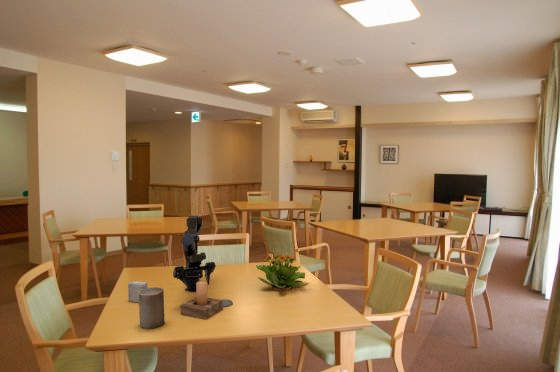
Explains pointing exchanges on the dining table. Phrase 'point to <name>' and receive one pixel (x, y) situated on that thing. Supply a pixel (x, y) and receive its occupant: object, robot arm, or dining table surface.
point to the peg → (201, 293)
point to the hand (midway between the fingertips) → (198, 286)
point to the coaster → (227, 303)
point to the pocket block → (201, 308)
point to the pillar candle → (151, 307)
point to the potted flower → (281, 273)
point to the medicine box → (135, 290)
